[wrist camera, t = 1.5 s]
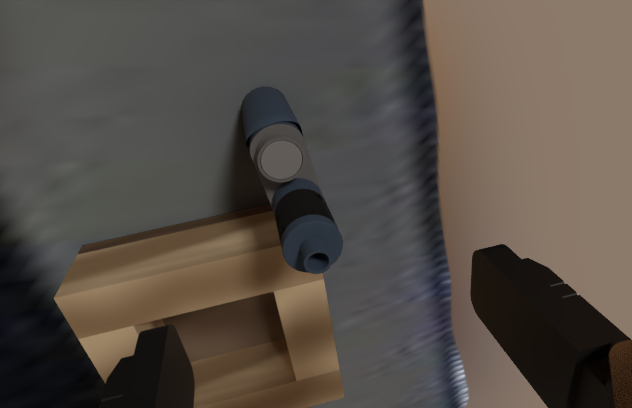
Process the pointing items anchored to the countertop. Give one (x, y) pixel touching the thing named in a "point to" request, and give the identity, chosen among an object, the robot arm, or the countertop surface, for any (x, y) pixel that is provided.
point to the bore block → (210, 309)
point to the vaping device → (290, 182)
